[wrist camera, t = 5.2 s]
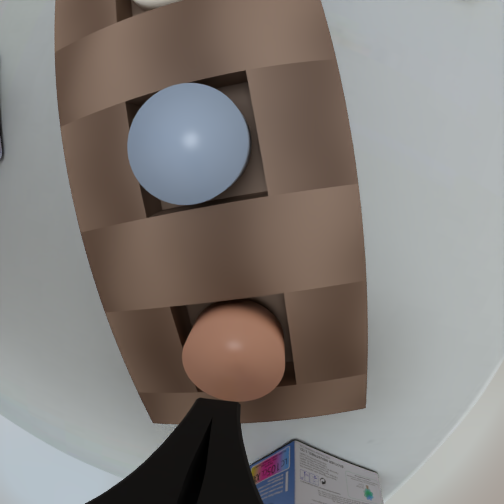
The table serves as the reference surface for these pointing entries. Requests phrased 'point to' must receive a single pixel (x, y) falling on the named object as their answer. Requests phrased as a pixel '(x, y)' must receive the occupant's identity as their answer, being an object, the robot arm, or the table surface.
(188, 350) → the terracotta button
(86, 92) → the button panel
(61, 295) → the table surface
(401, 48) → the table surface
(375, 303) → the table surface
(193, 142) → the slate blue button
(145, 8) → the cream button
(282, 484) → the ink cartridge box
